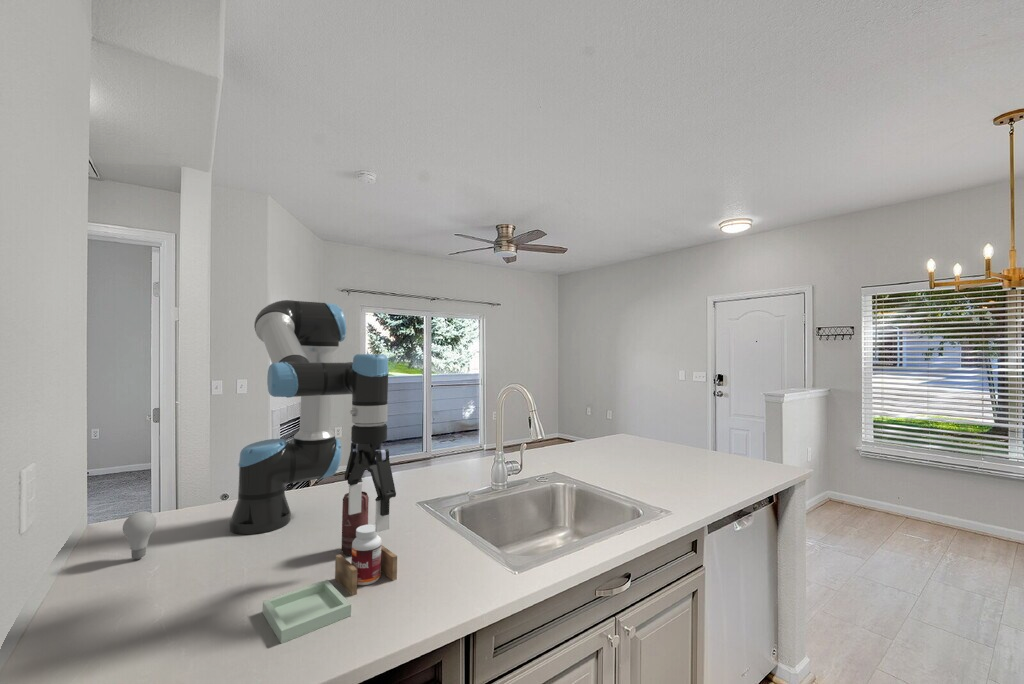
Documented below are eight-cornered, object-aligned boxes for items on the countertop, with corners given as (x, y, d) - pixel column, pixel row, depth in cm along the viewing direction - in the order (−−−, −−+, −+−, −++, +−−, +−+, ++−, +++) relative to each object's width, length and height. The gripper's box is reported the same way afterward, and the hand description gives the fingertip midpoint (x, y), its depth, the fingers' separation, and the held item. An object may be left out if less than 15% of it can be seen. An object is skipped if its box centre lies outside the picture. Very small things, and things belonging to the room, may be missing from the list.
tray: (262, 612, 83) (262, 601, 83) (326, 590, 91) (327, 579, 91) (281, 643, 74) (281, 631, 74) (350, 615, 82) (351, 604, 82)
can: (359, 557, 106) (361, 499, 106) (336, 554, 107) (337, 496, 108) (372, 546, 112) (374, 491, 112) (350, 544, 113) (351, 489, 114)
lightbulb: (114, 562, 102) (116, 514, 102) (144, 551, 108) (146, 506, 108) (131, 567, 100) (133, 518, 100) (161, 555, 105) (163, 509, 106)
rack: (334, 578, 96) (335, 555, 96) (377, 564, 103) (378, 542, 103) (352, 595, 89) (352, 570, 89) (396, 579, 96) (397, 556, 96)
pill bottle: (344, 582, 94) (345, 531, 95) (364, 569, 100) (365, 521, 100) (367, 589, 92) (369, 535, 92) (386, 575, 98) (387, 525, 98)
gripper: (331, 419, 103) (329, 510, 103) (379, 432, 85) (377, 543, 84) (361, 416, 109) (360, 503, 108) (413, 428, 90) (412, 533, 89)
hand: (367, 521), depth 96 cm, fingers open, 13 cm apart
